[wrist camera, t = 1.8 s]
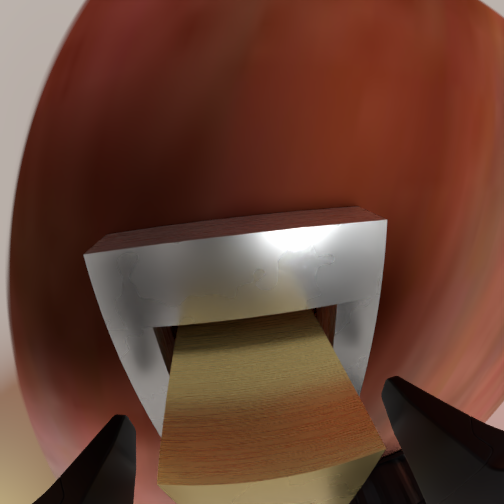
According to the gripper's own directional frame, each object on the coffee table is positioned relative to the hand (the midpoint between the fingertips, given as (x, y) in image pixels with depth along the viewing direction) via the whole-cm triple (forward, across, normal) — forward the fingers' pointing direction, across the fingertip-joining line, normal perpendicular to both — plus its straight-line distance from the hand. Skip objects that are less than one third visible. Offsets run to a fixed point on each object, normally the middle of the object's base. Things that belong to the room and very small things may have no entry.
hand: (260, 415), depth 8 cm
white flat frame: (+4, 0, +1) cm, 4 cm away
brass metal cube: (+4, 0, 0) cm, 4 cm away
